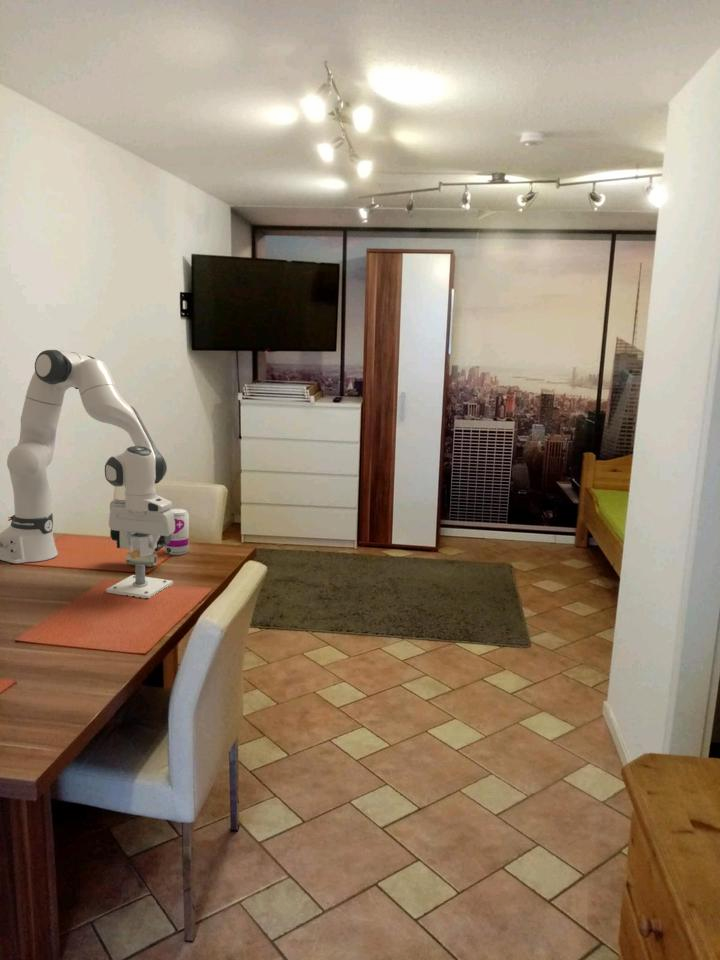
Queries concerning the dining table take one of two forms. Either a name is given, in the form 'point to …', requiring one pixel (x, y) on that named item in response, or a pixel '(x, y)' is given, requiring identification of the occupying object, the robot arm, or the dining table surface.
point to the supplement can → (179, 533)
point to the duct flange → (139, 584)
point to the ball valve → (145, 560)
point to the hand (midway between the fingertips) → (142, 546)
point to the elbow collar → (140, 545)
